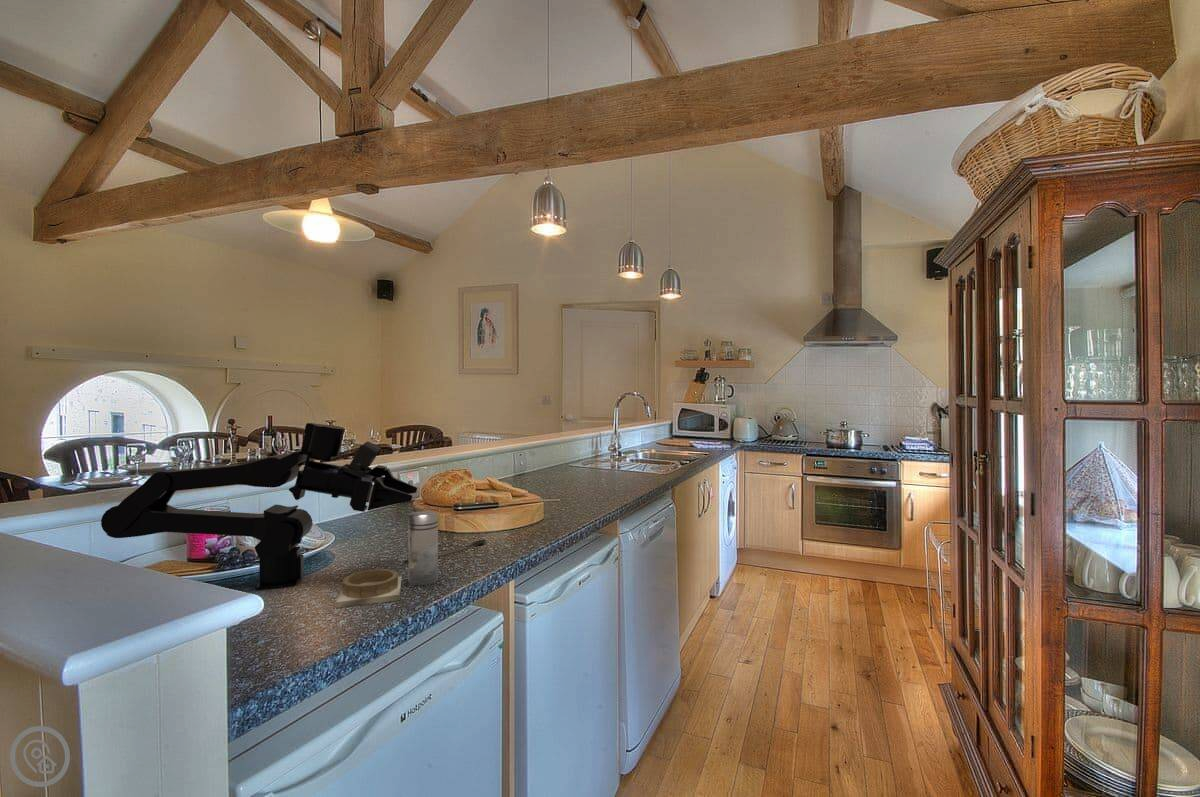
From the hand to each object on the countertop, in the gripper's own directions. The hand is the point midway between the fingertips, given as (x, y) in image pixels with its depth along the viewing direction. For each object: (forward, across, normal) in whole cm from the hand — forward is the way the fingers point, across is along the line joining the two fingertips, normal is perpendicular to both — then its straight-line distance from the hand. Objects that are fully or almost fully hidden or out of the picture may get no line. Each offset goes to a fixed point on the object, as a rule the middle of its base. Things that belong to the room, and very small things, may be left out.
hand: (414, 494), depth 106 cm
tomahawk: (+10, +11, +15) cm, 21 cm away
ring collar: (-3, -10, +17) cm, 20 cm away
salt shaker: (+6, -6, +15) cm, 17 cm away
